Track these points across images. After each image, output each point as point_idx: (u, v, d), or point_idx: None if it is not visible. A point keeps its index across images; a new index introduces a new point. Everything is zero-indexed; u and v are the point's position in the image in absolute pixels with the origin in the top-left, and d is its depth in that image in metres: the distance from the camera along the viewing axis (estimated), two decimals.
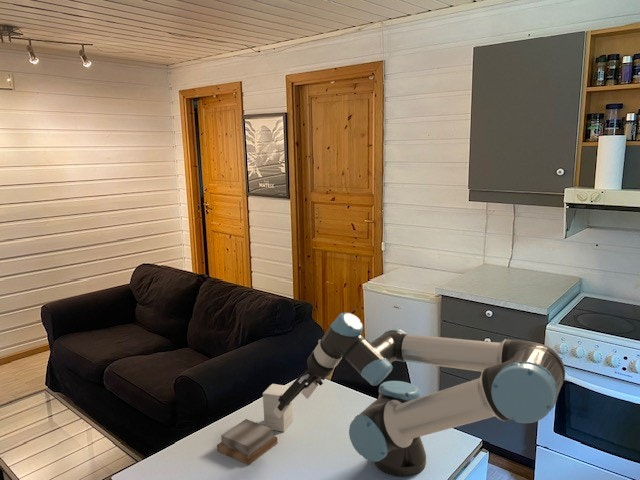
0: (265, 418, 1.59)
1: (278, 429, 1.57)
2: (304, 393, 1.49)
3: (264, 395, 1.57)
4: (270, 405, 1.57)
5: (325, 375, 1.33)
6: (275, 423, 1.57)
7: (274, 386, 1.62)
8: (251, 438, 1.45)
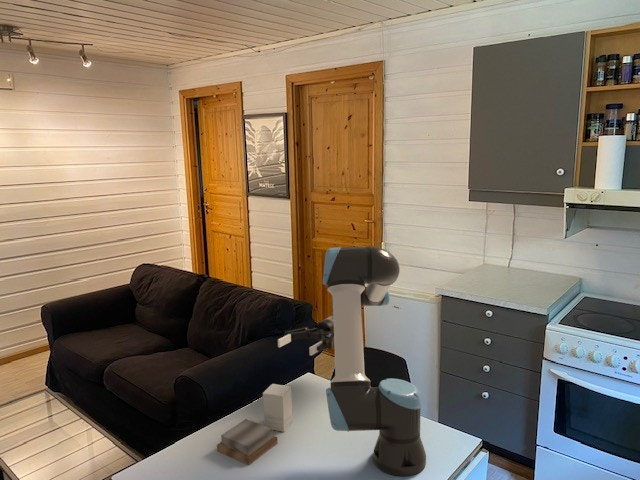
0: (265, 418, 1.59)
1: (278, 429, 1.57)
2: None
3: (264, 395, 1.57)
4: (269, 405, 1.57)
5: None
6: (275, 423, 1.57)
7: (274, 386, 1.62)
8: (251, 438, 1.45)
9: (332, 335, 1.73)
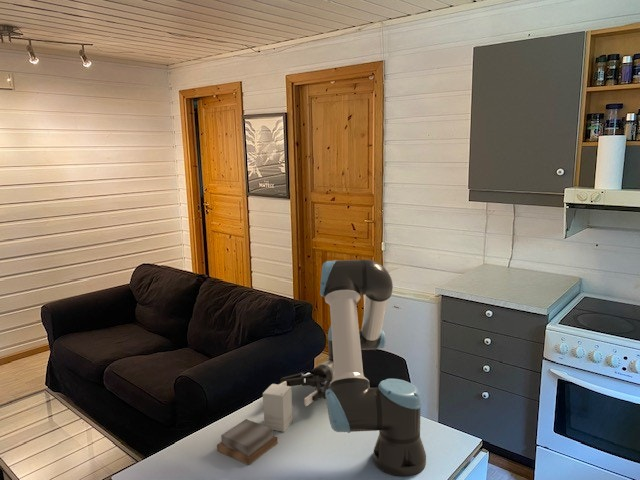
0: (265, 418, 1.59)
1: (278, 429, 1.57)
2: None
3: (264, 395, 1.57)
4: (269, 405, 1.57)
5: (316, 367, 1.81)
6: (275, 423, 1.57)
7: (274, 386, 1.62)
8: (251, 438, 1.45)
9: (328, 383, 1.73)
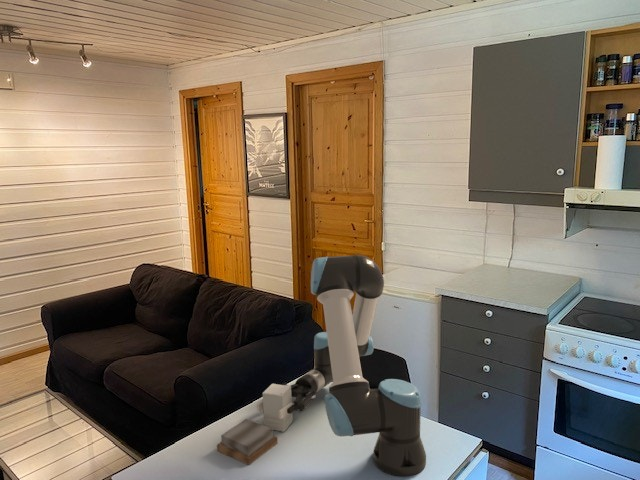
0: (265, 418, 1.59)
1: (278, 429, 1.57)
2: None
3: (264, 395, 1.57)
4: (269, 405, 1.57)
5: (301, 377, 1.73)
6: (274, 423, 1.57)
7: (274, 386, 1.62)
8: (251, 438, 1.45)
9: (309, 394, 1.64)
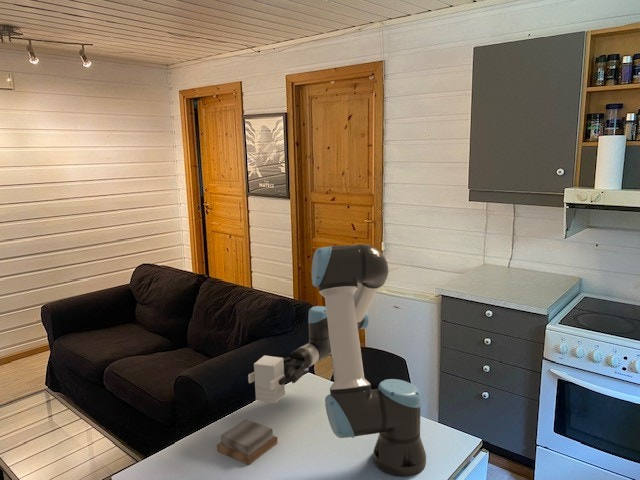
0: (256, 389, 1.55)
1: (269, 401, 1.54)
2: None
3: (255, 366, 1.54)
4: (261, 376, 1.54)
5: (294, 350, 1.69)
6: (266, 394, 1.54)
7: (266, 357, 1.58)
8: (251, 438, 1.45)
9: (302, 367, 1.61)
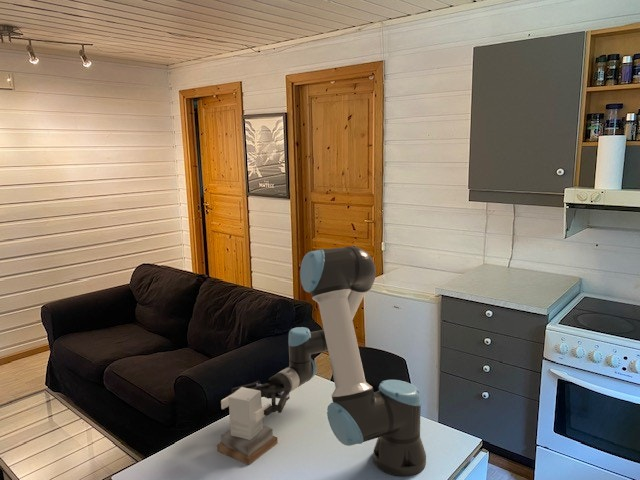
0: (231, 424, 1.46)
1: (244, 437, 1.44)
2: None
3: (230, 399, 1.45)
4: (235, 410, 1.44)
5: None
6: (241, 430, 1.45)
7: (243, 389, 1.49)
8: None
9: (284, 394, 1.52)
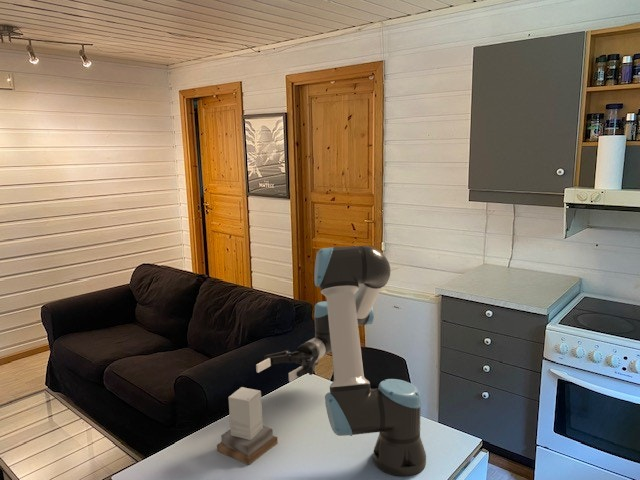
0: (231, 424, 1.46)
1: (244, 437, 1.44)
2: None
3: (230, 399, 1.45)
4: (235, 410, 1.44)
5: (302, 344, 1.73)
6: (241, 430, 1.45)
7: (243, 389, 1.49)
8: None
9: (313, 359, 1.65)
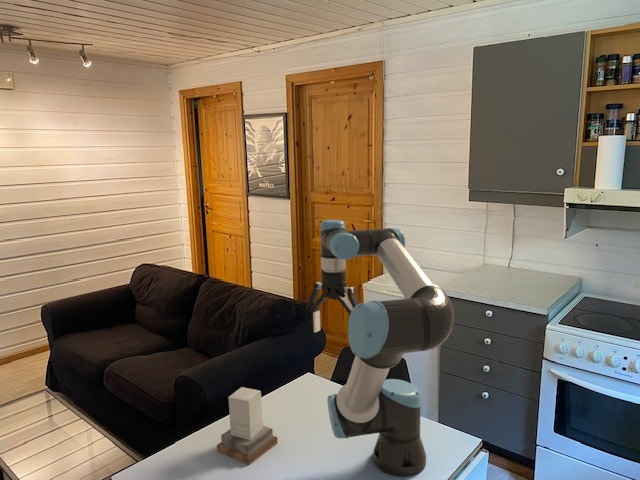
0: (231, 424, 1.46)
1: (244, 437, 1.44)
2: None
3: (230, 399, 1.45)
4: (235, 410, 1.44)
5: (323, 279, 1.49)
6: (241, 430, 1.45)
7: (243, 389, 1.49)
8: None
9: (350, 297, 1.47)
